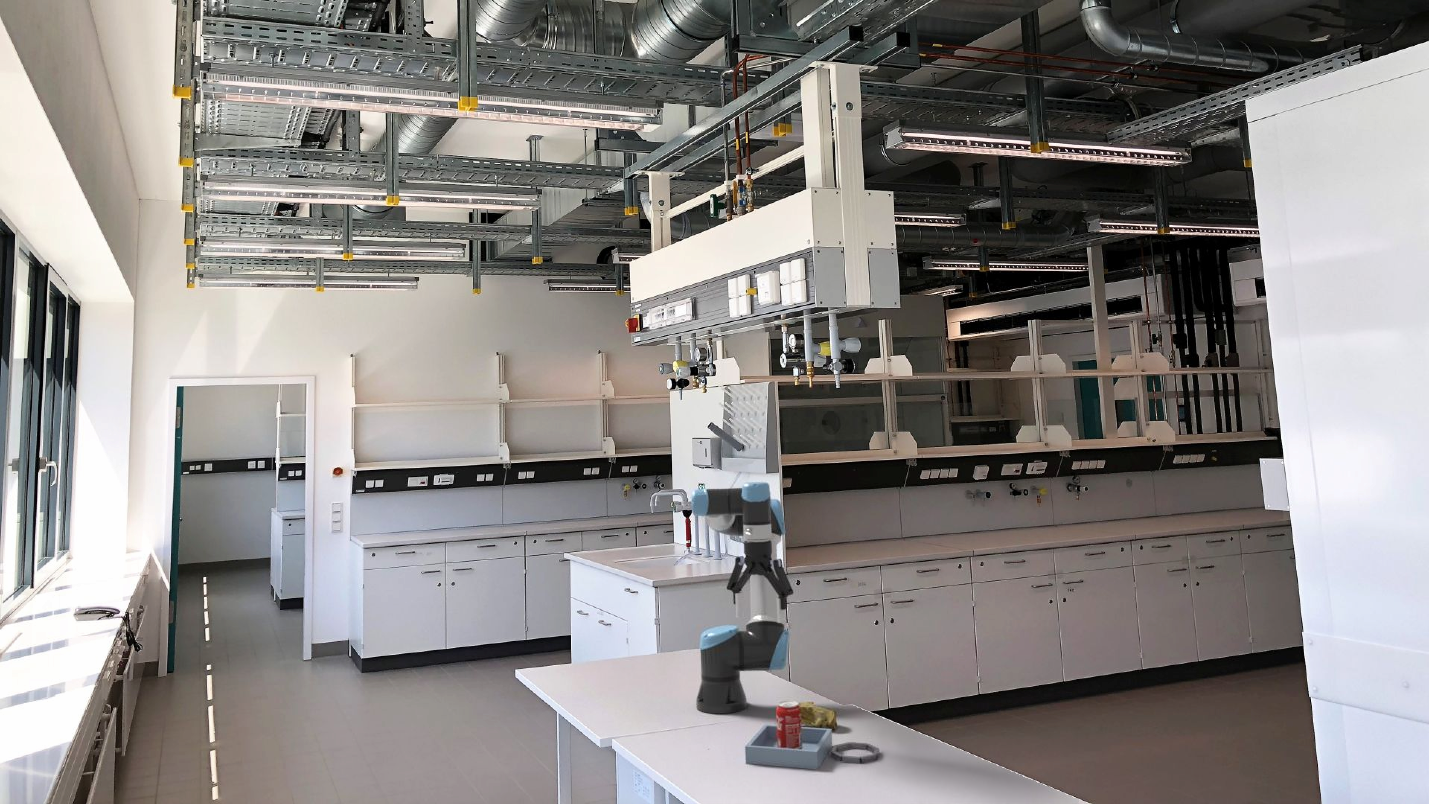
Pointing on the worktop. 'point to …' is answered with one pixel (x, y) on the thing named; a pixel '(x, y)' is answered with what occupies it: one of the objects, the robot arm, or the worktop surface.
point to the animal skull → (817, 716)
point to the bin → (810, 755)
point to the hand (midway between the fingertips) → (760, 619)
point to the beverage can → (789, 725)
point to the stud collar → (851, 758)
